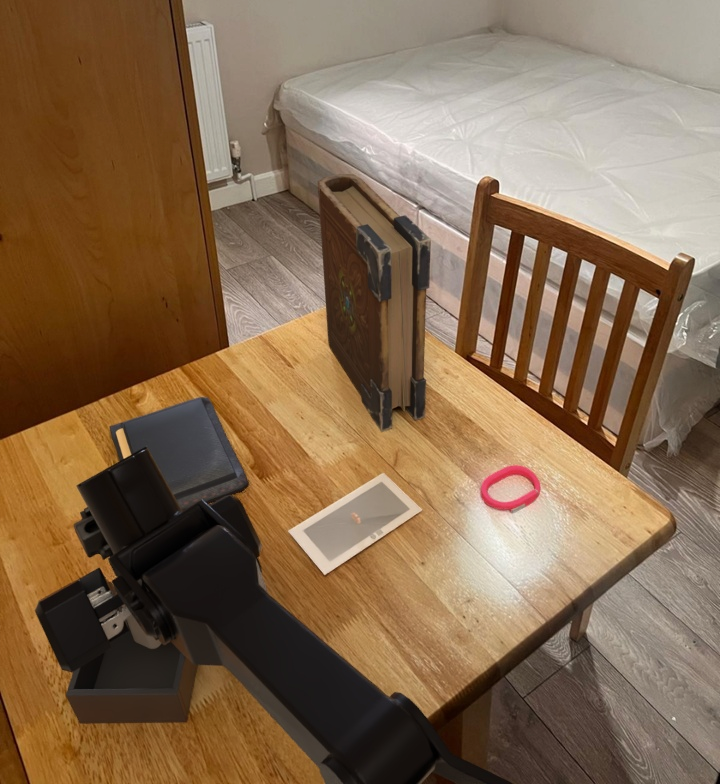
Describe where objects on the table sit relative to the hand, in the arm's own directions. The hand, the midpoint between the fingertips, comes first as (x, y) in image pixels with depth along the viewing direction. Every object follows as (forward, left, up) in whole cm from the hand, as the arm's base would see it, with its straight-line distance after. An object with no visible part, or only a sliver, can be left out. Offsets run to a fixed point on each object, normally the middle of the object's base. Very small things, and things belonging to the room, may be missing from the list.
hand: (141, 572), depth 71 cm
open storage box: (-3, +1, -13) cm, 14 cm away
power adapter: (-1, -1, -7) cm, 7 cm away
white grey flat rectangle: (+15, -21, -13) cm, 29 cm away
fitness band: (+20, -41, -13) cm, 47 cm away
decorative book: (+44, -22, -13) cm, 51 cm away
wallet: (+27, +4, -13) cm, 31 cm away
